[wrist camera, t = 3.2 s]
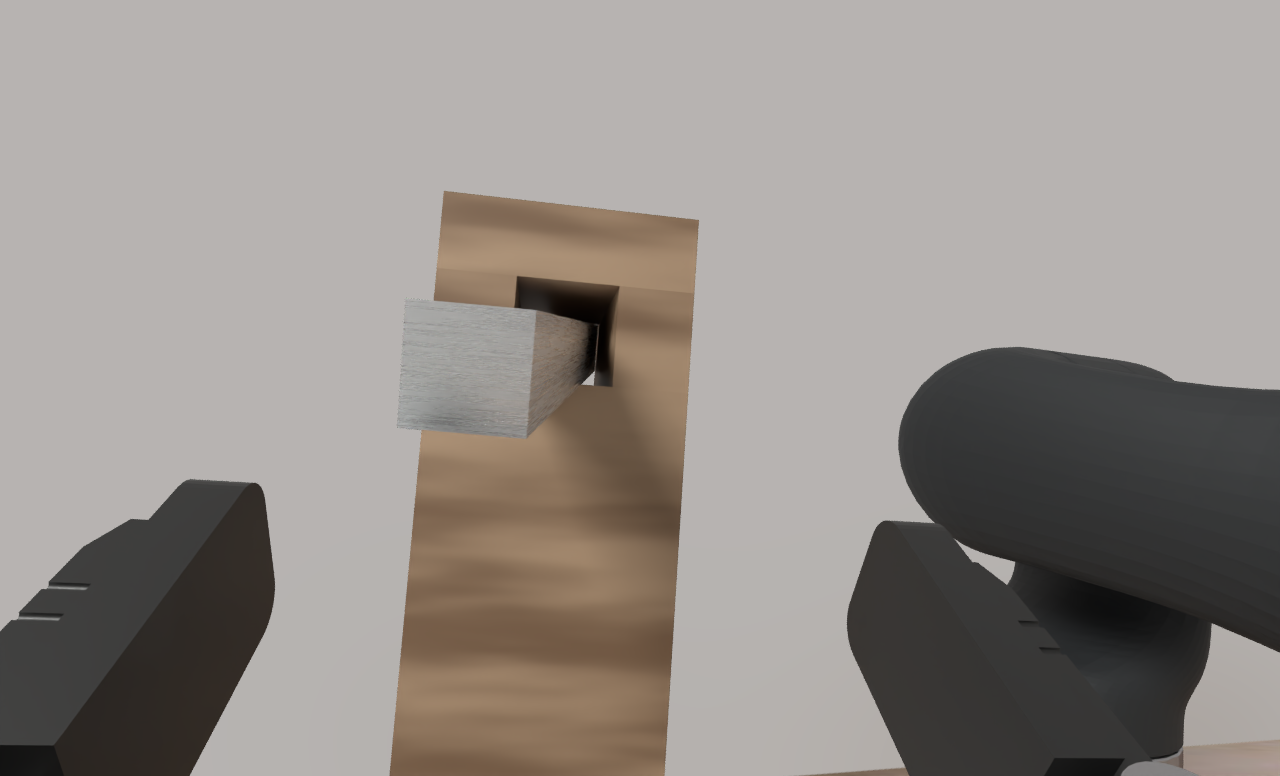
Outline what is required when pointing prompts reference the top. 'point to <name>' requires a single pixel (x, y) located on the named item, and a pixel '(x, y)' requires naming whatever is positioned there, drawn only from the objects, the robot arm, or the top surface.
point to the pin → (488, 367)
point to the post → (554, 511)
